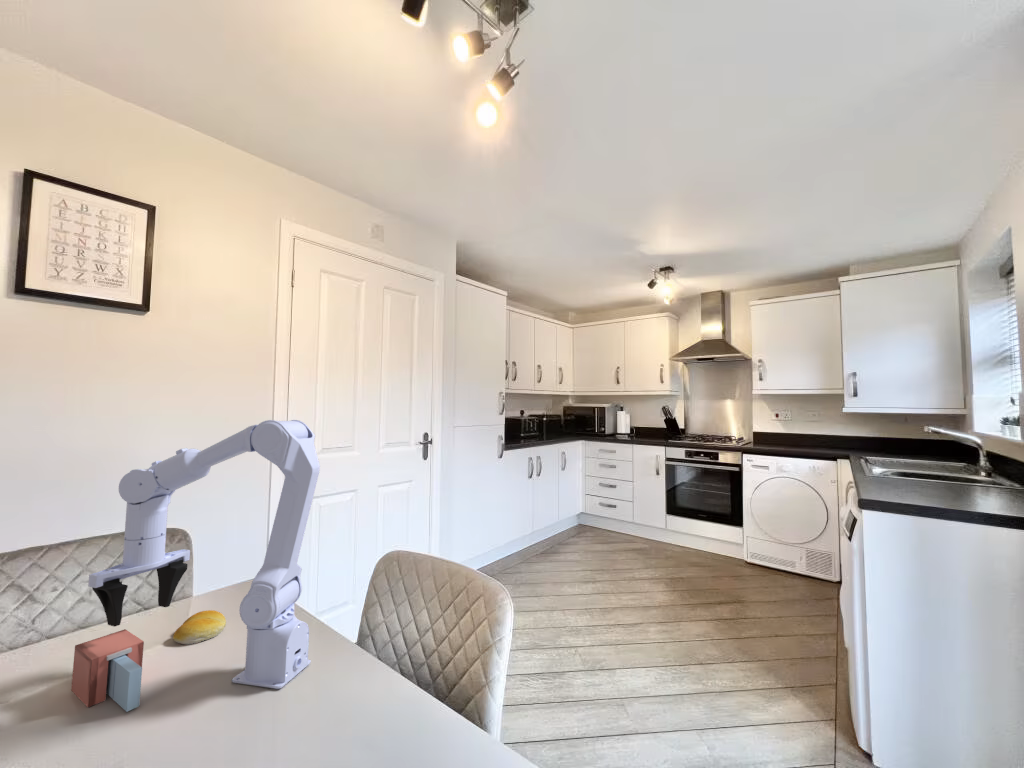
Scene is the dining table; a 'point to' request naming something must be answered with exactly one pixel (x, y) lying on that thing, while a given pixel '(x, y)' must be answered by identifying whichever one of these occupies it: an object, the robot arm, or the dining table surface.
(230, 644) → the dining table surface
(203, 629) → the bread roll
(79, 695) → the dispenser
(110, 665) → the blue-grey rectangular box
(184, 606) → the dining table surface
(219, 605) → the dining table surface
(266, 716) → the dining table surface
